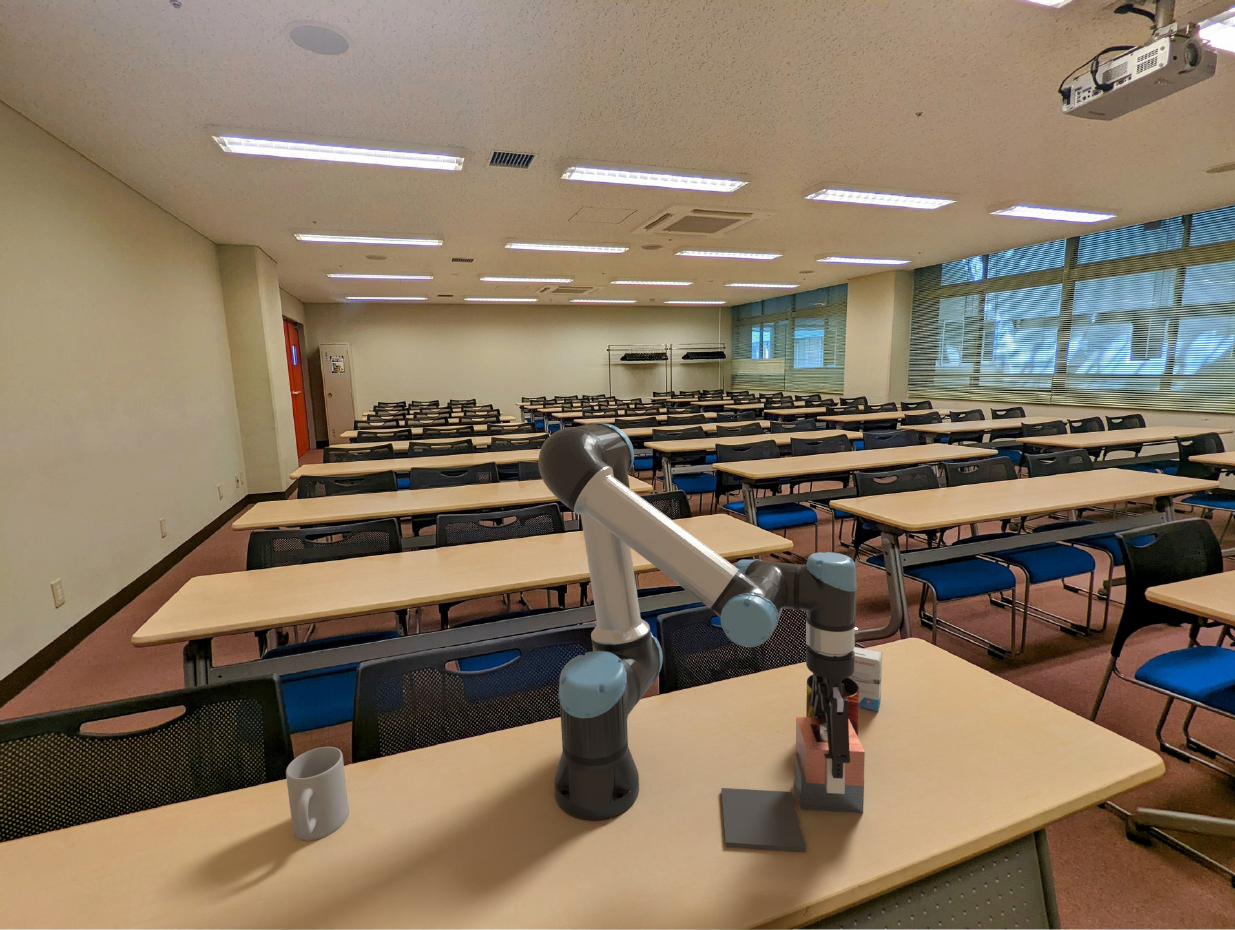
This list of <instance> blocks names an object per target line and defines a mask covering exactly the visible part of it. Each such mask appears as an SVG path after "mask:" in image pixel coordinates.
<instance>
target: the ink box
mask: <svg viewBox="0 0 1235 930" xmlns="http://www.w3.org/2000/svg"><path fill="white" fill-rule="evenodd" d="M853 650H854V652H855V664H854V673H853V674H852V675H851V676H850V677H848V678H850V679H852V680H853V681H855V682H856V683H857V684H858V686H859V708H862V709H867V710H870V711H874V712H879V711H880V705H881V702H882V701H881V699H882V677H883V676H882V672H883V671H882V670H883V668H882V667H883V652H881V651H876V650H870V649H866V648H862V647H858V646H857V647H856V646H855V648H854V649H853Z"/></svg>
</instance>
